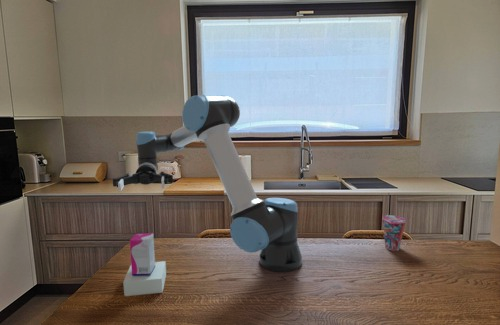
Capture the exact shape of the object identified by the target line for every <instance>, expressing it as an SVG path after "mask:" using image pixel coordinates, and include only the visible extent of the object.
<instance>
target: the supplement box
mask: <svg viewBox="0 0 500 325" xmlns="http://www.w3.org/2000/svg"><path fill="white" fill-rule="evenodd" d="M129 246H130V247H129V250H130V262H131V264H130V265H131V266H132V276H139V275H151V273H152V272H153V270H154V268H155V262H156V257H155V256H156V255H155V240H154V233H153V232H150V233H149V232H148V233H147V232H146V233H144V232H143V233H135V234H134V235H133V236H132V237H131V239H129Z"/></svg>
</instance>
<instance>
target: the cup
mask: <svg viewBox="0 0 500 325" xmlns="http://www.w3.org/2000/svg"><path fill="white" fill-rule="evenodd" d="M406 222H407V219H406V218H405V217H402V216H399V215H394V214H386V215H383V216H382V225H383V237H384V247H385V249H387V250H388V251H392V252H397V251H399V250H400V247H401V243H402V240H403V236H404V235H403V234H404V230H405V227H406V226H405V225H406Z"/></svg>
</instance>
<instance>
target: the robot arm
mask: <svg viewBox="0 0 500 325" xmlns="http://www.w3.org/2000/svg"><path fill="white" fill-rule="evenodd" d="M240 111H241V110H240V107H239V104H238V103H237V101H235V100H234V98H232V97H230V96H228V95H205V94H199V95H192V96H190V97H189V98H188V99H187V100H186V101H185V102H184V105H183V108H182V114H181V117H182V119H181V120H182V122H183V126H181V127H180V128H177V129H176V130H173V131H171V132H170V133H169V134H158V135H156V132H155V131H139V132H137V133H136V148H137V150H136V151H137V163H138V164H137V165H138V167H137V169H136V170H135V171H136V172H135V173H133V174H132V175H131V174H130V173H125V174H123V175H121V176H117V177H114V178H113V179H112V186H113V187H116V188H117V189H118V192H122V190H123V189H124V188H125V186H127V185H132V184H141V185H151V184H152V183H161V188H162V189H165V185H168V184H169V183H171V184H172V183H174V175H173V174H170V173H168V172H164V171H160V172H159V173H158V170H159V165H158V157H157V156H158V155H157V154H158V153H159V154H160V153H169V152H174V151H175V152H177V151H180V150H183V149H184V148H185V146H186V145H188V144H190V143H193V142H195V141H197V140H198V141H200V142H202V143H204V145H205V146H206V149H207V151H208V153H209V156H210V158H211V160H212V163H213V164H214V167H215V170H216V172H217V174H218V175H217V176H218V177H219V179H220V181H221V183H222V186H223V188H224V190H225V194H226V196H227V198H228V200H229V202H230V204H231V207H232V210H231V213H230V217H231V220H232V222H231V223H230V226H229V227H230V230H229V232H230V233H229V234H230V237H231V239H232V241H233V242H234V244H235V245H236V246H237V247H238V249H240V250H243V251H244V252H246V253H251V254H252V253H257V252H259V251H260V252H259V264H260V265H261V267H263V268H264V269H266V270H269V271H273V272H279V273H280V272H285V273H287V272H292V271H295V270H297V269H299V268H300V267H301V265H302V264H303V263H302V261H303V256H302V253H301V250H300V246H299V244H298V218H299V216H298V214H299V210H298V203H297V201H295V200H293V199H289V198H286V197H285V198H283V197H268V198H265V199H262V198H258V196H257V194H256V191H255V189H254V186H253V185H252V183H251V181H250V178H249V175H248V174H247V171H246V169H245V167H244V165H243V164H244V163H243V162H242V161H241V158H240V156H239V153H238V151H237V148H236V147H235V144H234V142H233V140H232V138H231V136H230V133H229V132H230V129H231V128H232V127H233V126H235V125H236V124H237V122H239V119H240V116H241V112H240Z"/></svg>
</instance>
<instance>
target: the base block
mask: <svg viewBox="0 0 500 325" xmlns="http://www.w3.org/2000/svg"><path fill="white" fill-rule="evenodd" d="M166 262H167V261H166V260H162V261H155V268H154V270H153V272H152V273H151V275H139V276H132V266H131V264H130V266H129V268H128V270H127V272H126V275H125V277H124V279H123V284H122V285H123V293H124V297H130V296H140V295H141V296H142V295H151V294H161V293H163V292H164V287H165V282H166V277H167V263H166Z"/></svg>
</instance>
